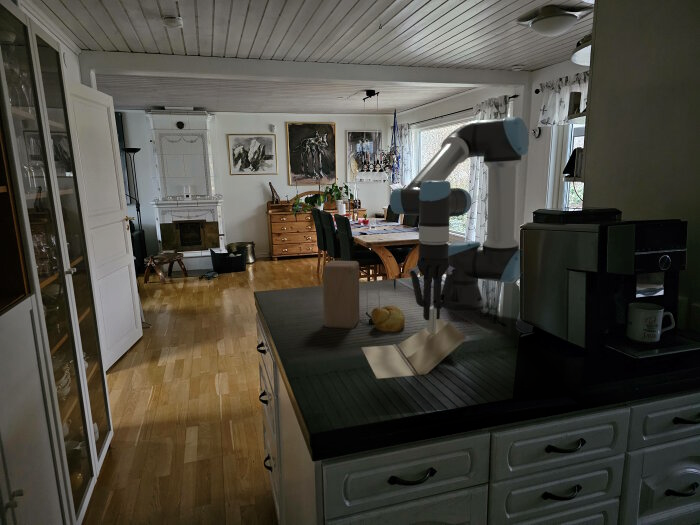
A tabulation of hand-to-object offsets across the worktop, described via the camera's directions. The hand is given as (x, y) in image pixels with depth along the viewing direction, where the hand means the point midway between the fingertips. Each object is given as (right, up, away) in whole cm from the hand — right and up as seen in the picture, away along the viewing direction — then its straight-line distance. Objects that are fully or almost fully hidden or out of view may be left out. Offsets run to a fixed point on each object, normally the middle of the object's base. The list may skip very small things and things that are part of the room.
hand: (431, 331), depth 114 cm
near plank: (0, -3, -9) cm, 10 cm away
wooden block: (-24, -2, +26) cm, 36 cm away
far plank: (-1, -3, +1) cm, 3 cm away
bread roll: (-9, -3, +21) cm, 23 cm away
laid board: (-12, -8, -5) cm, 15 cm away
